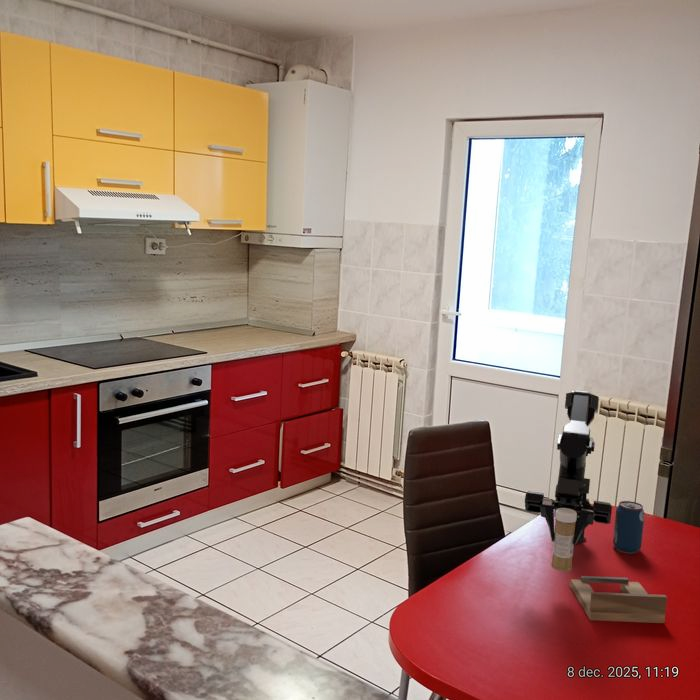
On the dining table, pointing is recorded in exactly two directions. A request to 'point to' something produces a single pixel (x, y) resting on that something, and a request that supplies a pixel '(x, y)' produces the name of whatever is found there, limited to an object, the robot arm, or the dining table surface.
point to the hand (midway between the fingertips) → (563, 542)
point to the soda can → (628, 527)
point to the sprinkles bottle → (563, 539)
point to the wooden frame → (619, 601)
